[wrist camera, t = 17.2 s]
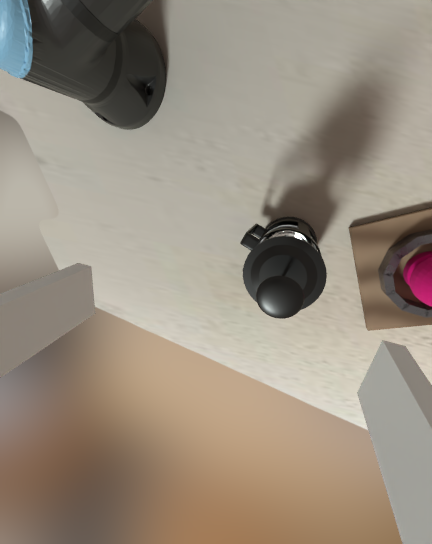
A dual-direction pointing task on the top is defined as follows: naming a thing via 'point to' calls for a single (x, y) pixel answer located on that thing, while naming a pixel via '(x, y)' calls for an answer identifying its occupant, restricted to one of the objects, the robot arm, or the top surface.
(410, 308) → the iron collar
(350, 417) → the top surface
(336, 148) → the top surface
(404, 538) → the robot arm
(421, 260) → the pepper mill
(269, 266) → the french press
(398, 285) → the collar plate
